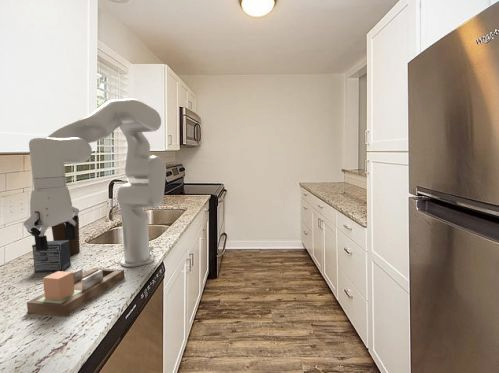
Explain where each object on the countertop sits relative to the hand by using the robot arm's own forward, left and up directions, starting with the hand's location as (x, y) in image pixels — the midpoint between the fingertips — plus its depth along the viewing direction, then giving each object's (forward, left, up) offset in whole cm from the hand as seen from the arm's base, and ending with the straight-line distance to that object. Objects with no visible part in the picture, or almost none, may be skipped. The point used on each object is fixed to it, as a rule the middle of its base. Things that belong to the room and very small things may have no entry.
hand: (57, 244), depth 86 cm
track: (-8, 0, -18) cm, 19 cm away
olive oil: (-43, -37, -18) cm, 59 cm away
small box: (-25, -27, -18) cm, 41 cm away
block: (0, 0, -15) cm, 15 cm away
